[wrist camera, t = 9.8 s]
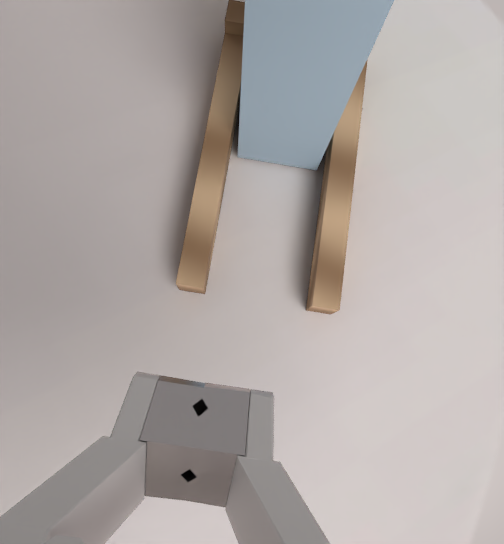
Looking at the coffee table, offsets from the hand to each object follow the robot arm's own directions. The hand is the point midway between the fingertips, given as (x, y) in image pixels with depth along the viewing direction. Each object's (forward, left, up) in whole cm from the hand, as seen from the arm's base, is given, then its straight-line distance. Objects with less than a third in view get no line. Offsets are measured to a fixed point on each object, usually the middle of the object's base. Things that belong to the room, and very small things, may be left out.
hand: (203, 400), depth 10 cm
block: (-10, +13, -15) cm, 22 cm away
